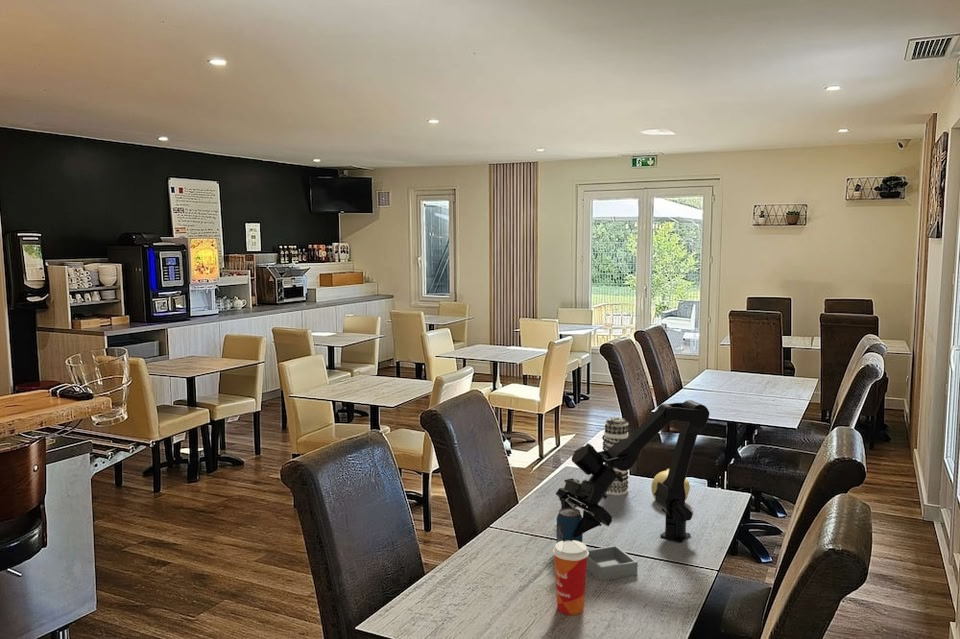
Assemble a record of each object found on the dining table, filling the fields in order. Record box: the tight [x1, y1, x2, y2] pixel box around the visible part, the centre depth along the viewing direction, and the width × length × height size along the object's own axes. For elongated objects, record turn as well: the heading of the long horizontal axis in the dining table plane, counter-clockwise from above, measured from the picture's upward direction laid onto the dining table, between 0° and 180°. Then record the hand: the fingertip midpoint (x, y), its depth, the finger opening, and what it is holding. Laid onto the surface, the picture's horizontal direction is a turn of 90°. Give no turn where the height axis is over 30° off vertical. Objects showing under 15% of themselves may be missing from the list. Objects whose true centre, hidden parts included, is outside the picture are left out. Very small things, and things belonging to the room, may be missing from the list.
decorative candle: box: [601, 416, 630, 496], centre depth 241 cm, size 9×9×25 cm
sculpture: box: [651, 468, 691, 501], centre depth 231 cm, size 12×12×11 cm
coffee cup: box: [552, 540, 589, 616], centre depth 165 cm, size 8×8×15 cm
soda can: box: [556, 508, 583, 543], centre depth 193 cm, size 7×7×12 cm
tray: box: [586, 545, 639, 582], centre depth 185 cm, size 11×11×3 cm
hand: (565, 532), depth 192 cm, fingers closed on soda can, 7 cm apart
